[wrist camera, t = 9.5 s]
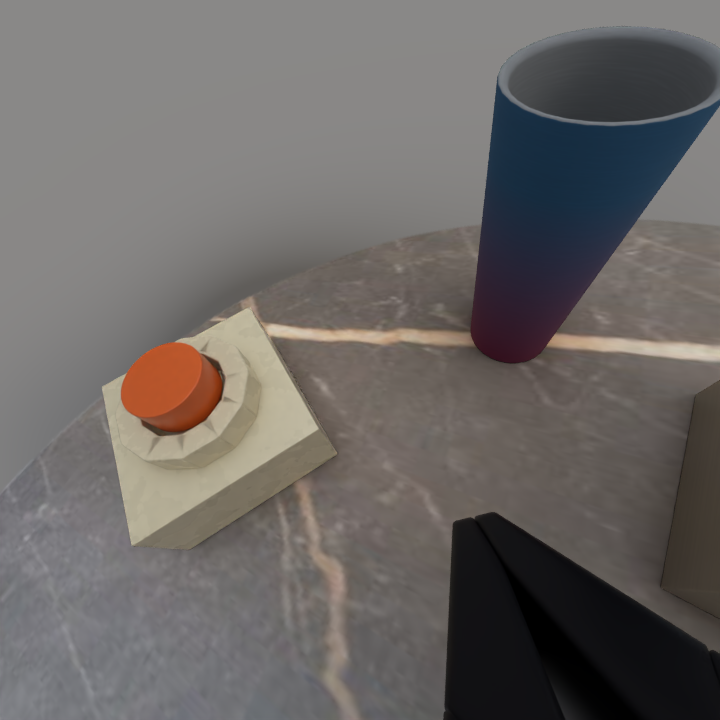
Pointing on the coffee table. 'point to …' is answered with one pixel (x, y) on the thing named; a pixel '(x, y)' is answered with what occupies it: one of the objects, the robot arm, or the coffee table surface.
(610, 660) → the robot arm
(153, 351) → the power button
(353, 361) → the coffee table surface
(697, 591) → the beige button base
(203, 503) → the beige button housing
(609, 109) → the cup
